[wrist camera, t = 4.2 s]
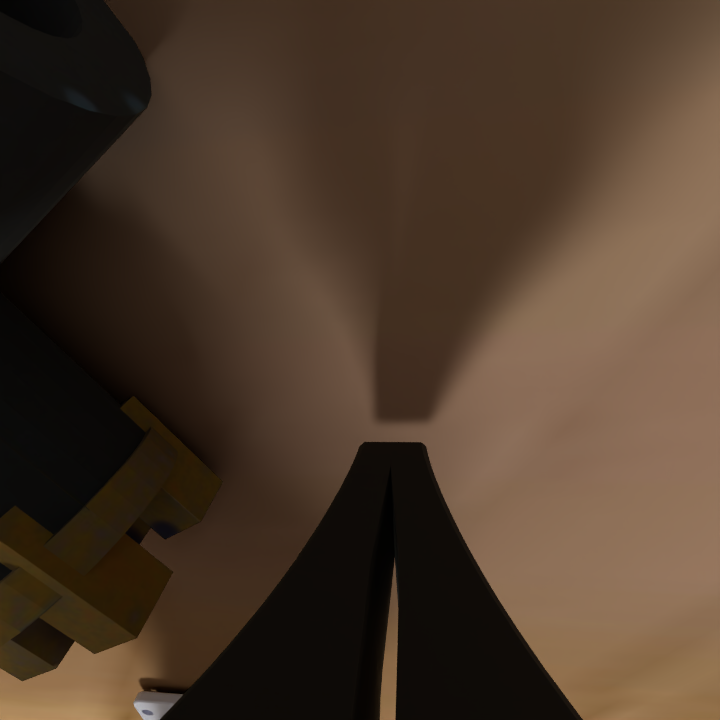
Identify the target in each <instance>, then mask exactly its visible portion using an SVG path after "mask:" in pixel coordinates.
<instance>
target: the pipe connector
mask: <svg viewBox="0 0 720 720" xmlns="http://www.w3.org/2000/svg"><path fill="white" fill-rule="evenodd" d="M150 98H151V84H150V77H149V74H148V71H147V68H146V65H145V62H144V59H143V57H142V55H141V53H140V51H139V49H138V47H137V45H136V43H135V41H134V40H133V39H132V37H131V36H130V35H129V33H128V32H127V31H126V29H125V28H124V27H123V25H122V24H121V23H120V21H119V20H118V19H117V18H116V16H115V15H114V14H113V12H112V11H111V10H110V8H109V7H108V6H107V4H106V3H105V2H104V0H0V264H1V263H2V262H3V261H4V260H5V259H6V258H7V257H8V255H9V254H10V253H11V252H12V251H13V250H14V249H15V248H16V247H17V246H18V245H19V244H20V243H21V242H22V240H23V239H24V238H25V237H26V236H27V235H28V234H29V233H30V232H31V231H32V230H33V229H34V228H35V227H36V226H37V224H38V223H39V222H40V221H41V220H42V219H43V218H44V217H45V216H46V215H47V214H48V213H49V212H50V211H51V209H52V208H53V207H54V206H55V205H56V204H57V203H58V202H59V201H60V200H61V199H62V198H63V197H64V196H65V195H66V193H67V192H68V191H69V190H70V189H71V188H72V187H73V186H74V185H75V184H76V183H77V182H78V181H79V180H80V178H81V177H82V176H83V175H84V174H85V173H86V172H87V171H88V170H89V169H90V168H91V167H92V166H93V165H94V164H95V162H96V161H97V160H98V159H99V158H100V157H101V156H102V155H103V154H104V153H105V152H106V151H107V150H108V149H109V147H110V146H111V145H112V144H113V143H114V142H115V141H116V140H117V139H118V138H119V137H120V136H121V135H122V134H123V133H124V131H125V130H126V129H127V128H128V127H129V126H130V125H131V124H132V123H133V122H134V121H135V120H136V119H137V118H138V116H139V115H140V114H141V113H142V112H143V111H144V110H145V109H146V108H147V106H148V103H149V101H150ZM221 484H222V481H221V480H220V479H219V478H218V477H217V476H216V475H215V474H214V473H213V472H212V471H211V470H210V469H209V468H208V467H207V466H206V465H205V464H204V463H203V462H202V461H201V460H200V459H198V458H197V457H196V456H195V455H194V454H193V453H192V452H191V451H190V450H189V449H188V448H187V447H186V446H185V445H184V444H183V443H182V442H181V441H180V440H179V439H178V438H177V437H176V436H175V435H174V434H172V433H171V432H170V431H169V430H168V429H167V428H166V427H165V426H164V425H163V424H162V423H161V422H160V421H159V420H158V419H157V418H156V417H155V416H154V415H153V414H152V413H151V412H150V411H149V410H148V409H146V408H145V407H144V406H143V405H142V404H141V403H140V402H139V401H138V400H137V399H136V398H135V397H134V396H133V397H131V398H130V399H128V400H127V401H125V402H124V403H123V404H121V405H120V404H119V403H118V402H117V401H116V400H115V399H114V398H113V397H111V396H110V395H109V394H108V393H107V392H106V391H105V390H104V389H103V388H102V387H101V386H100V385H99V384H98V383H97V382H96V381H94V380H93V379H92V378H91V377H90V376H89V375H88V374H87V373H86V372H85V371H84V370H83V369H82V368H81V367H80V366H78V365H77V364H76V363H75V362H74V361H73V360H72V359H71V358H70V357H69V356H68V355H67V354H66V353H65V352H64V351H63V350H61V349H60V348H59V347H58V346H57V345H56V344H55V343H54V342H53V341H52V340H51V339H50V338H49V337H48V336H47V335H45V334H44V333H43V332H42V331H41V330H40V329H39V328H38V327H37V326H36V325H35V324H34V323H33V322H32V321H31V320H30V319H28V318H27V317H26V316H25V315H24V314H23V313H22V312H21V311H20V310H19V309H18V308H17V307H16V306H15V305H14V304H12V303H11V302H10V301H9V300H8V299H7V298H6V297H5V296H4V295H3V294H2V293H1V292H0V668H1V669H3V670H4V671H6V672H8V673H9V674H11V675H13V676H14V677H16V678H18V679H19V680H21V681H24V680H27V679H29V678H32V677H35V676H37V675H40V674H43V673H45V672H48V671H51V670H53V669H56V668H57V667H58V665H59V664H60V662H61V661H62V659H63V658H64V656H65V655H66V653H67V652H68V650H69V649H70V647H71V646H72V644H73V643H74V641H76V642H77V643H79V644H80V645H82V646H83V647H85V648H86V649H88V650H89V651H91V652H92V653H94V654H96V653H99V652H101V651H104V650H106V649H109V648H112V647H114V646H117V645H120V644H122V643H125V642H128V641H130V640H133V639H136V638H137V637H138V635H139V633H140V632H141V630H142V628H143V626H144V624H145V623H146V621H147V619H148V617H149V615H150V613H151V612H152V610H153V608H154V606H155V604H156V602H157V601H158V599H159V597H160V595H161V593H162V592H163V590H164V588H165V586H166V584H167V582H168V581H169V579H170V577H171V575H172V573H173V572H172V571H171V570H170V569H169V568H167V567H166V566H165V565H164V564H162V563H161V562H160V561H159V560H157V559H156V558H155V557H154V556H152V555H151V554H150V553H149V552H148V551H146V550H145V549H144V548H143V547H141V546H140V545H139V544H140V543H141V541H142V540H143V538H144V537H145V535H146V534H147V532H148V531H149V529H150V528H152V529H153V530H154V531H156V532H157V533H158V534H159V535H160V536H162V537H163V538H164V539H167V538H169V537H171V536H173V535H175V534H177V533H179V532H181V531H183V530H185V529H187V528H189V527H191V526H193V525H195V524H197V523H199V522H201V521H202V519H203V517H204V515H205V513H206V511H207V510H208V508H209V506H210V504H211V502H212V500H213V499H214V497H215V495H216V493H217V491H218V490H219V488H220V486H221Z"/></svg>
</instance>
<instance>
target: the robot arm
mask: <svg viewBox="0 0 720 720" xmlns="http://www.w3.org/2000/svg"><path fill="white" fill-rule="evenodd" d="M394 558H395V566H396V580H397V594H398V608H399V610H398V651H397V689H396V720H583V719H582V718H581V717H580V715H579V714H578V713H577V711H576V710H575V709H574V707H573V706H572V705H571V703H570V702H569V701H568V699H567V698H566V697H565V695H564V694H563V693H562V691H561V690H560V689H559V687H558V686H557V684H556V683H555V682H554V680H553V679H552V678H551V676H550V675H549V674H548V672H547V671H546V670H545V668H544V667H543V665H542V664H541V663H540V661H539V660H538V658H537V657H536V655H535V654H534V652H533V651H532V649H531V648H530V647H529V645H528V644H527V642H526V641H525V639H524V638H523V636H522V635H521V633H520V632H519V630H518V629H517V628H516V626H515V624H514V623H513V621H512V620H511V618H510V617H509V615H508V614H507V612H506V610H505V609H504V607H503V606H502V604H501V603H500V601H499V600H498V598H497V596H496V595H495V593H494V591H493V590H492V588H491V587H490V585H489V583H488V581H487V580H486V578H485V576H484V575H483V573H482V571H481V570H480V568H479V566H478V564H477V562H476V561H475V559H474V557H473V555H472V554H471V552H470V550H469V548H468V546H467V544H466V543H465V541H464V539H463V537H462V535H461V533H460V531H459V529H458V527H457V525H456V523H455V521H454V519H453V517H452V515H451V513H450V510H449V508H448V506H447V504H446V502H445V500H444V498H443V495H442V493H441V491H440V488H439V486H438V483H437V481H436V478H435V475H434V473H433V470H432V467H431V464H430V461H429V457H428V453H427V448H426V446H425V445H424V444H422V443H421V442H364V443H363V444H362V445H360V447H359V449H358V452H357V455H356V457H355V459H354V462H353V464H352V466H351V468H350V470H349V472H348V474H347V476H346V478H345V480H344V482H343V484H342V486H341V488H340V490H339V491H338V493H337V495H336V496H335V498H334V500H333V502H332V503H331V505H330V507H329V509H328V510H327V512H326V514H325V516H324V517H323V519H322V520H321V522H320V524H319V525H318V527H317V528H316V530H315V531H314V533H313V534H312V536H311V537H310V539H309V540H308V542H307V544H306V545H305V547H304V548H303V550H302V551H301V553H300V554H299V556H298V557H297V559H296V560H295V561H294V563H293V564H292V566H291V567H290V568H289V570H288V571H287V573H286V574H285V575H284V577H283V578H282V579H281V581H280V582H279V583H278V585H277V586H276V587H275V589H274V590H273V591H272V593H271V594H270V595H269V596H268V598H267V599H266V600H265V602H264V603H263V604H262V606H261V607H260V608H259V609H258V611H257V612H256V613H255V614H254V615H253V617H252V618H251V619H250V620H249V621H248V623H247V624H246V625H245V626H244V627H243V628H242V630H241V631H240V632H239V633H238V634H237V636H236V637H235V638H234V639H233V640H232V642H231V643H230V644H229V645H228V646H227V648H226V649H225V650H224V651H223V652H222V653H221V654H220V655H219V657H218V658H217V659H216V660H215V661H214V662H213V663H212V665H211V666H210V667H209V668H208V669H207V670H206V671H205V672H204V673H203V674H202V676H201V677H200V678H199V679H198V680H197V681H196V682H195V683H194V684H193V685H192V686H191V687H190V688H189V689H188V690H187V691H186V692H185V693H184V694H174V693H161V692H149V691H142V692H139V693H138V694H137V696H136V698H135V701H134V706H135V708H136V709H137V711H138V712H139V714H140V715H141V717H142V718H143V719H144V720H380V695H381V682H382V669H383V660H384V651H385V642H386V632H387V623H388V614H389V605H390V596H391V587H392V577H393V568H394Z"/></svg>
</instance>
